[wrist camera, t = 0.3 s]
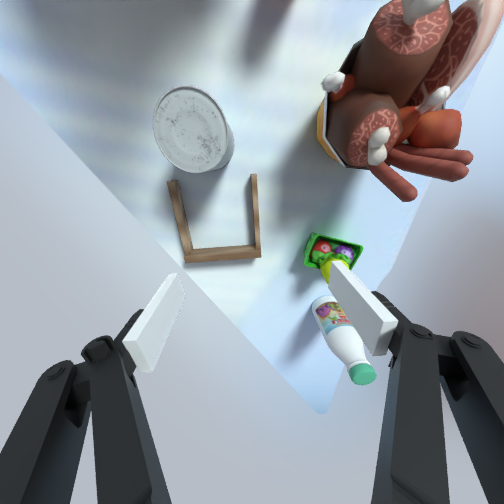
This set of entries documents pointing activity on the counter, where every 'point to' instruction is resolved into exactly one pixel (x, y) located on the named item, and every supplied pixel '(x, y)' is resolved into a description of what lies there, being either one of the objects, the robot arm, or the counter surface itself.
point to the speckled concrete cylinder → (192, 130)
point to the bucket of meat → (406, 91)
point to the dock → (217, 252)
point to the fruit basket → (330, 253)
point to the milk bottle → (343, 339)
